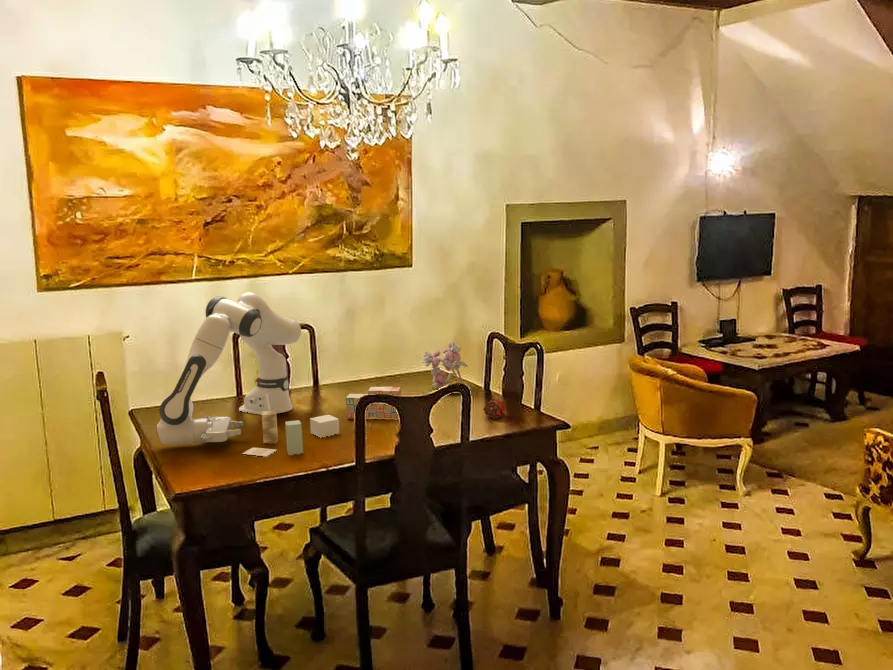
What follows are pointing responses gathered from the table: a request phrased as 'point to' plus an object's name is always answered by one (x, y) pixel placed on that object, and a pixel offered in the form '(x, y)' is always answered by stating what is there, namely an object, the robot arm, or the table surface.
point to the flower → (445, 364)
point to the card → (260, 452)
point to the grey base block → (324, 425)
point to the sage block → (294, 437)
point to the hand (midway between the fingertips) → (241, 427)
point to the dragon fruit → (495, 408)
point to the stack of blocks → (373, 409)
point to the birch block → (269, 427)
